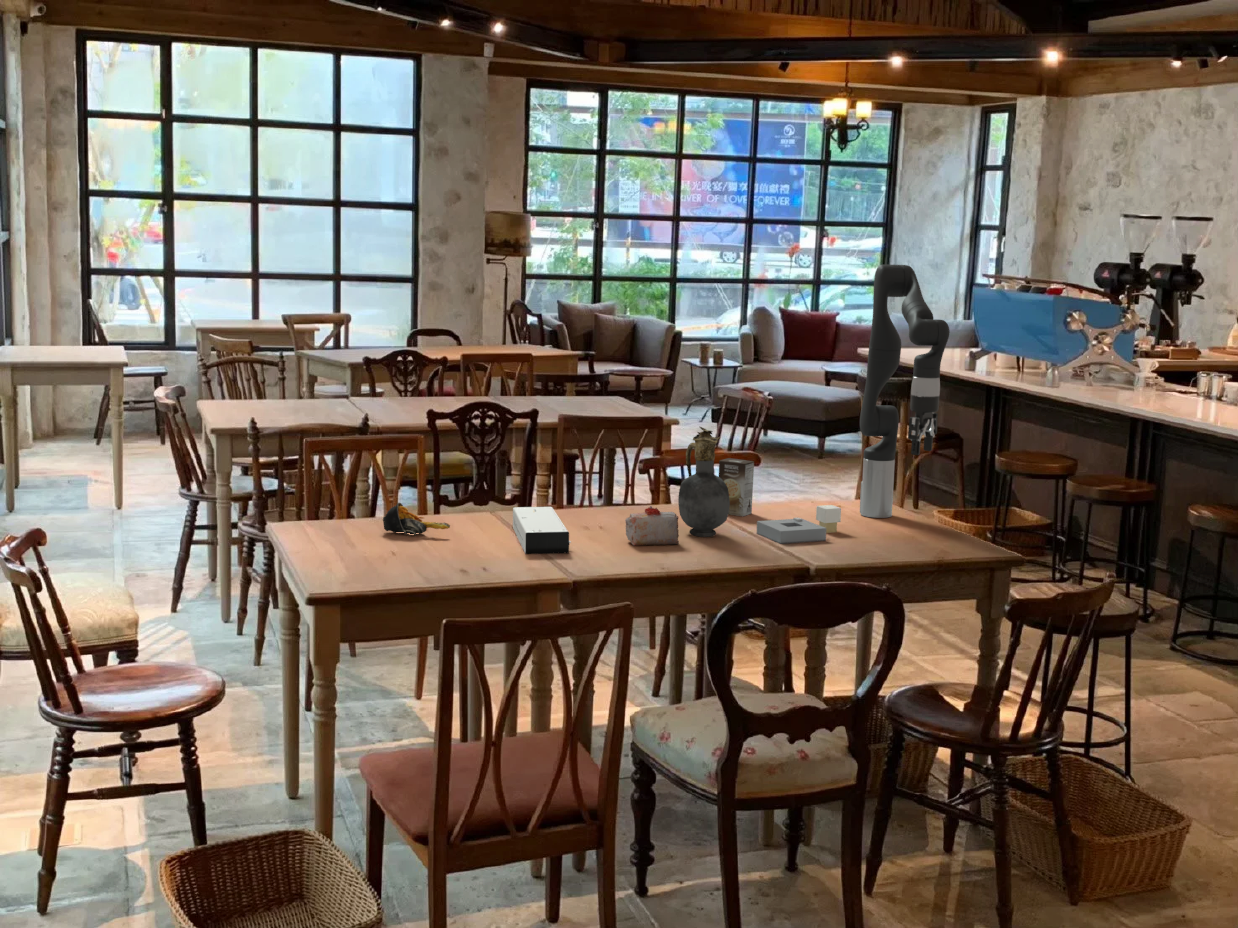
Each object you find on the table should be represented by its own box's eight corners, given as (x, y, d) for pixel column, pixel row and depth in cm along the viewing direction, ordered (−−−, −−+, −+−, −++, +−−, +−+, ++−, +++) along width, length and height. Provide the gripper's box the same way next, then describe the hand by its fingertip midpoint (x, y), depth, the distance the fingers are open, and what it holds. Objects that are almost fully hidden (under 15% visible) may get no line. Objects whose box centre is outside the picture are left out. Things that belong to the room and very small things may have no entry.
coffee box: (715, 513, 399) (717, 460, 396) (725, 509, 404) (727, 457, 401) (743, 516, 394) (745, 463, 391) (753, 513, 399) (754, 460, 396)
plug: (815, 530, 377) (816, 505, 376) (830, 529, 379) (831, 504, 377) (824, 533, 372) (825, 509, 371) (840, 532, 374) (841, 508, 373)
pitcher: (697, 541, 359) (700, 431, 354) (668, 527, 376) (670, 422, 372) (733, 538, 363) (736, 430, 358) (702, 525, 380) (706, 421, 376)
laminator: (512, 528, 373) (512, 507, 372) (556, 528, 375) (556, 506, 374) (525, 556, 340) (525, 532, 339) (573, 555, 342) (573, 531, 341)
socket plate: (756, 533, 371) (757, 519, 370) (800, 530, 376) (801, 516, 375) (780, 543, 358) (780, 529, 357) (825, 540, 363) (826, 526, 362)
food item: (630, 547, 350) (630, 510, 349) (623, 541, 358) (624, 505, 357) (680, 546, 353) (681, 509, 352) (672, 539, 361) (673, 504, 359)
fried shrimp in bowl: (386, 511, 367) (447, 493, 366) (394, 549, 365) (456, 531, 363) (374, 505, 359) (437, 486, 357) (383, 544, 356) (446, 525, 354)
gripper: (922, 390, 366) (918, 448, 369) (901, 394, 355) (897, 454, 357) (948, 392, 362) (944, 451, 365) (928, 397, 350) (924, 457, 353)
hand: (921, 452), depth 361 cm, fingers open, 8 cm apart
